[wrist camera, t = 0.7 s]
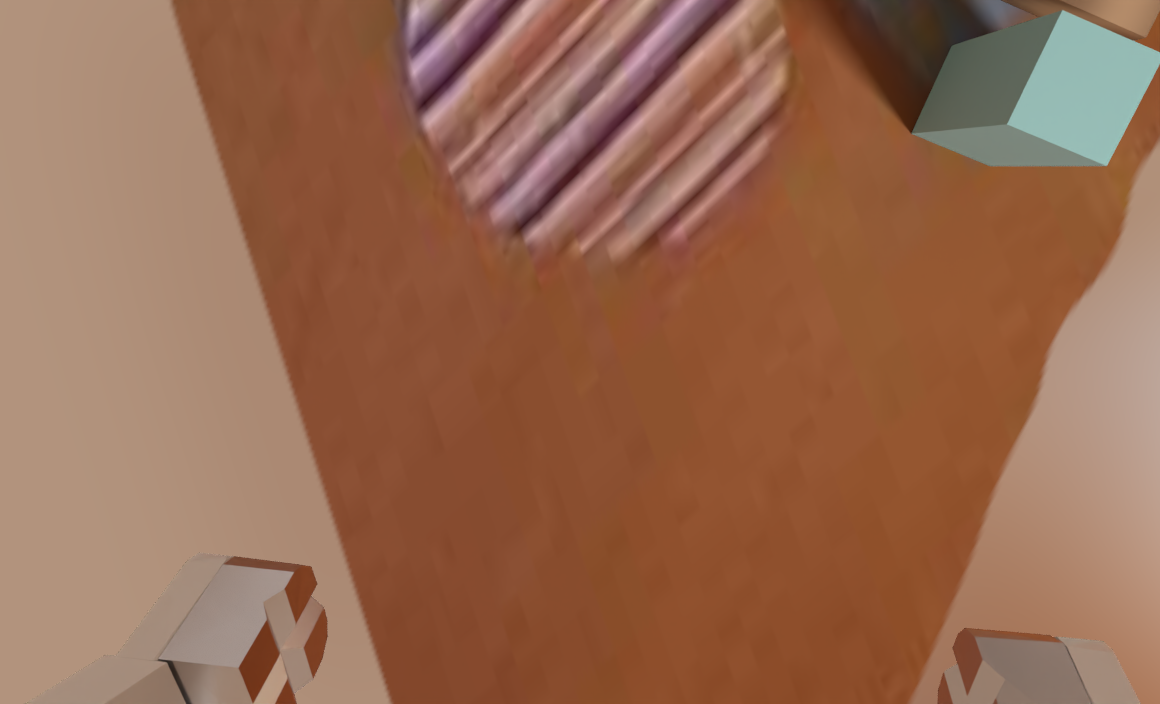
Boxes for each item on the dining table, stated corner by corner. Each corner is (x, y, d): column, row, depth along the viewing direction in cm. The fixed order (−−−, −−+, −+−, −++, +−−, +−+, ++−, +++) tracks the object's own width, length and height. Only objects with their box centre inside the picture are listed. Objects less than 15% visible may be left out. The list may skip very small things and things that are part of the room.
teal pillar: (911, 133, 44) (1007, 124, 34) (951, 45, 43) (1062, 9, 33) (990, 166, 45) (1106, 165, 35) (1032, 79, 43) (1164, 54, 34)
